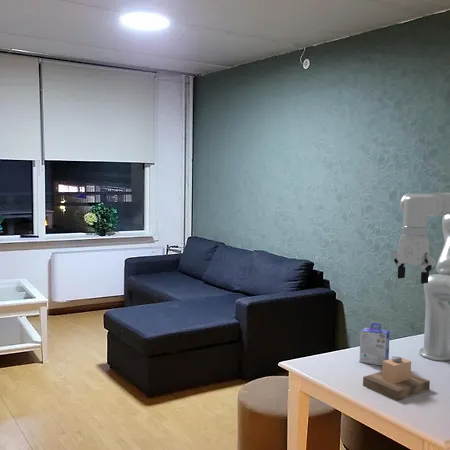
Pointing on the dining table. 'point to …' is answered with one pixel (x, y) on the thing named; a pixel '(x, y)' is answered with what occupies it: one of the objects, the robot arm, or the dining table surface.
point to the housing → (396, 370)
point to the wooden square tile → (396, 386)
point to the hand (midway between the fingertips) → (412, 280)
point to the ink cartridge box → (374, 345)
